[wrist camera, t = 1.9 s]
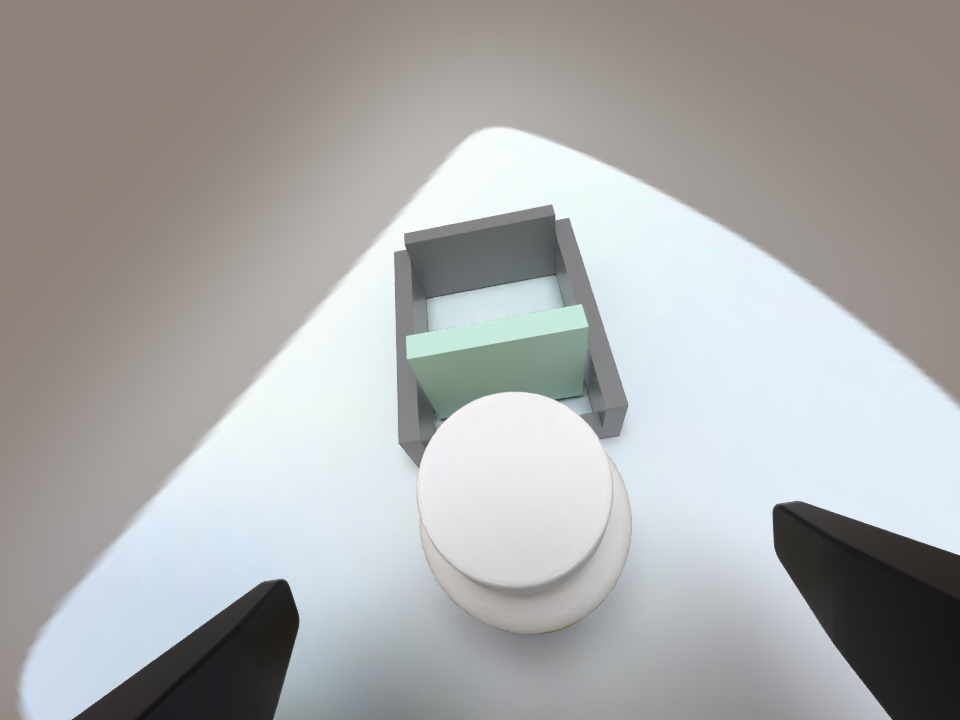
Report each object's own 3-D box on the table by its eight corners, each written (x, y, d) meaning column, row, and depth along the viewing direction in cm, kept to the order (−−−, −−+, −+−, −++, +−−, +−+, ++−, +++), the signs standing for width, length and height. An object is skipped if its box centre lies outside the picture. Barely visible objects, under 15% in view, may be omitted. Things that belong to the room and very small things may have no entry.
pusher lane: (619, 435, 19) (631, 392, 16) (419, 468, 20) (390, 433, 17) (568, 261, 25) (569, 201, 21) (410, 291, 25) (387, 236, 22)
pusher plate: (582, 394, 20) (588, 326, 16) (439, 419, 21) (406, 359, 16) (577, 375, 21) (581, 304, 16) (438, 399, 21) (406, 336, 17)
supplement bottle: (435, 563, 18) (328, 497, 10) (521, 455, 20) (493, 321, 11) (551, 673, 16) (541, 712, 7) (636, 540, 17) (708, 448, 9)
